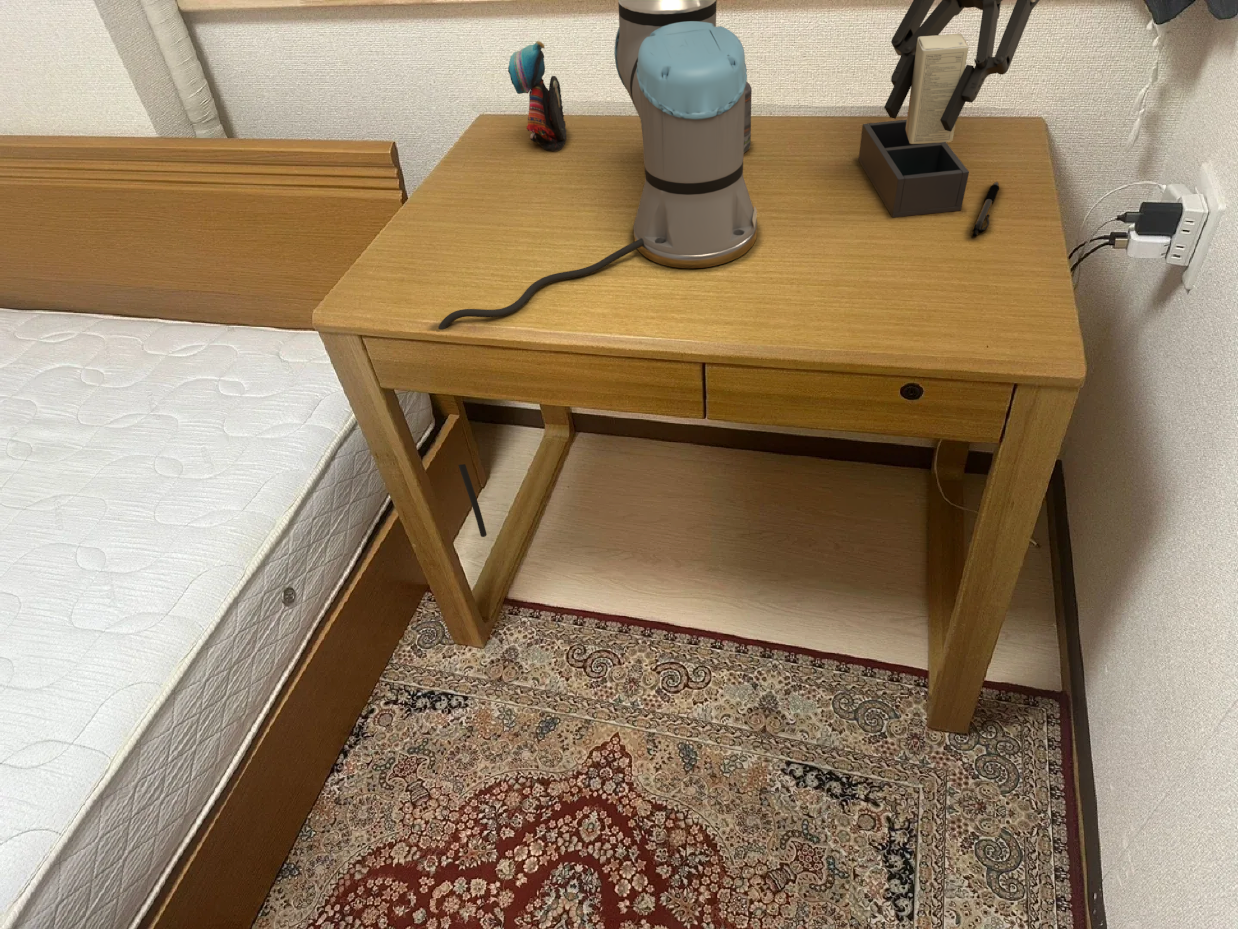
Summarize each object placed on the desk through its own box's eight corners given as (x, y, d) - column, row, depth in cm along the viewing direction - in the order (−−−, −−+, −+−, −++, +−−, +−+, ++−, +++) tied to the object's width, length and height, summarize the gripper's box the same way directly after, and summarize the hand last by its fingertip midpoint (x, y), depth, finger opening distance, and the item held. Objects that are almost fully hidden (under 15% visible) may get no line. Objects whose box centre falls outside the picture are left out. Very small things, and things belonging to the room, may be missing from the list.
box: (946, 127, 105) (964, 32, 97) (952, 143, 102) (972, 45, 94) (902, 129, 106) (917, 34, 98) (907, 144, 103) (922, 48, 95)
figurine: (529, 128, 135) (513, 27, 124) (573, 127, 134) (561, 24, 123) (517, 156, 128) (498, 51, 117) (563, 155, 127) (549, 49, 116)
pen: (983, 241, 101) (985, 232, 100) (968, 238, 102) (970, 230, 101) (1005, 188, 109) (1007, 179, 109) (991, 186, 110) (993, 177, 109)
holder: (892, 217, 106) (898, 178, 103) (858, 160, 118) (862, 123, 115) (961, 210, 106) (969, 171, 103) (920, 153, 118) (926, 116, 114)
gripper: (1101, -48, 95) (1002, 151, 98) (937, -65, 105) (853, 116, 108) (1097, -92, 88) (992, 122, 92) (923, -105, 98) (834, 88, 102)
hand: (917, 118), depth 100 cm, fingers closed on box, 6 cm apart
